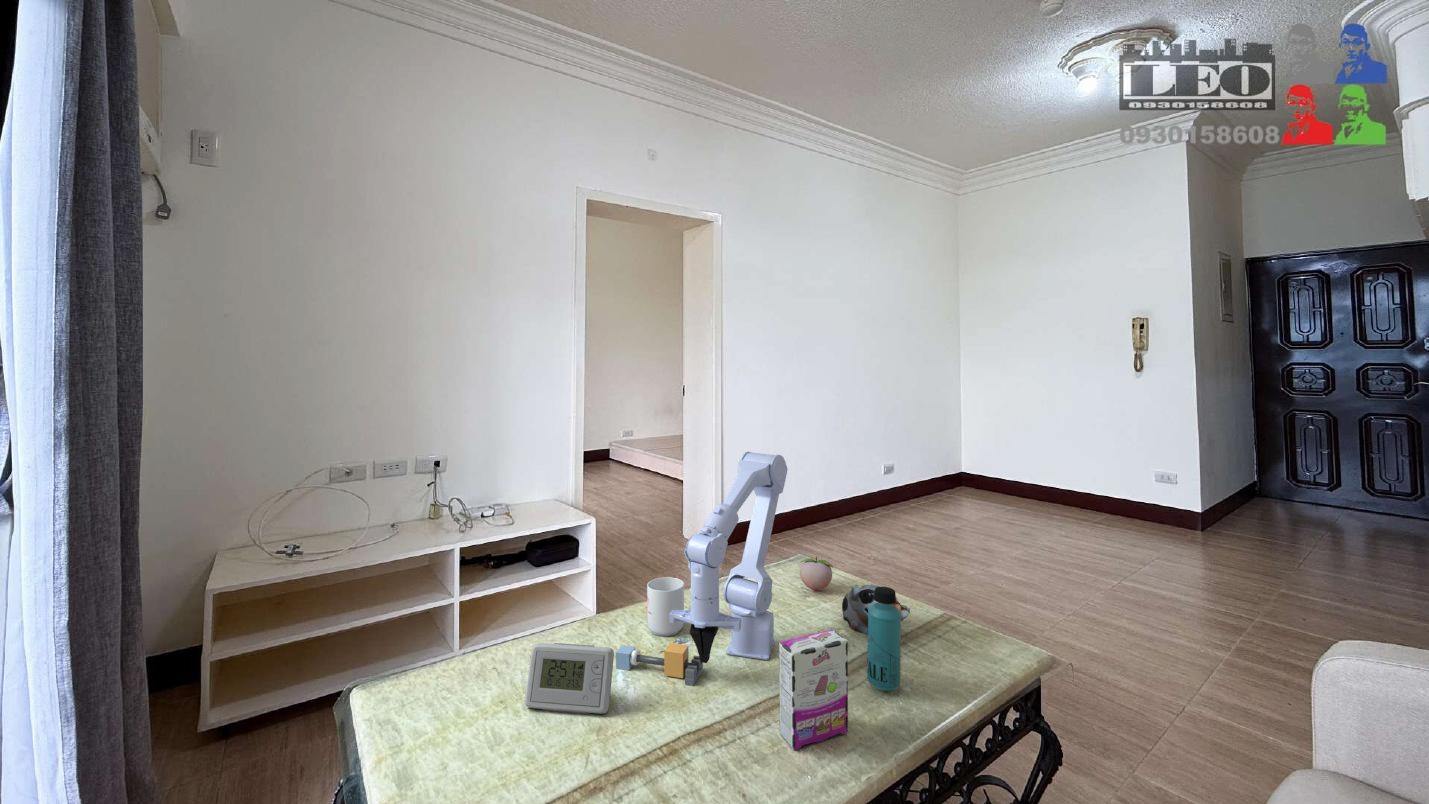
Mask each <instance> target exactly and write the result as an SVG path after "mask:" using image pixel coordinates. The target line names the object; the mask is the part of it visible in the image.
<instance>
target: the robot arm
mask: <svg viewBox="0 0 1429 804" xmlns="http://www.w3.org/2000/svg"><path fill="white" fill-rule="evenodd" d="M736 464H737V465H736V467H737V475H736V478H735V479H734V482H733V483H732V485H731V488H730V489H729V492H728V493H727V495H726V497H725V500H724V501H723V503H721V504H716V505H715V507H714V508H713V509H712V511H711V513H710V515H709V516H708V518H707V520H706V521H705V522H704V524H703V526H702V527H701V529H700V530H699V532H698V533H695V534H693V535H692V536H690V537H689V538H688V540H687V542H686V544H685V549H684V551H683V553H684V557H685V559H686V561H687V564H688V565H687V566H688V569H689V571H690V609H684V610H672V611H671V613H670V623H675V622H680V623H684V624H688V625H689V624H690V629H689V630H688V631H689V636H690V637H691V639H692V641H693V642H694V644H695V646H696V649H697V653H698V656H699V658H700V662H701V663H703V664H707V663H709V660H710V656H711V650H712V648H713V647H712V646H713V643H714V642H715V641H714V640H715V638H716V636H717V633H718V631H719V629H725V630H731V631H730V633H731V634H730V635H731V636H730V643H729V645H728V647H727V649H726V650H725V654H726V655H732V656H738V657H744V658H750V659H758V660H765V661H768V660H769V659H770V656H771V654H772V651H773V648H774V645H775V640H774V639H775V637H774V635H775V634H774V633H775V632H774V631H775V629H774V628H775V625H774V624H775V617H774V612H772V611H769V610H768V609H770V606H771V603H772V600H773V599H772V598H773V592H772V588H773V579H772V577H771V576H770V575H769V573H768V572H767V571H766V569H765V566H766V565H765V563H766V559H767V554H768V550H769V544H770V540H771V535H772V532H773V527H774V522H775V521H774V520H775V516H776V511H777V507H778V502H779V497H780V494H783V492H784V489H785V485H786V479H787V474H788V465H787V462H786V460H785V458H784V457H783V455H781V454H769V453H768V454H767V453H757V452H751V451H745V452H743V454H742V455H741V457H740V458H739V461H737V463H736ZM753 491H754V494H755V499H754V504H753V509H752V513H751V517H750V518H751V519H750V523H749V526H748V527H749V528H748V532H747V536H746V540H745V544H744V549H743V554H742V557H741V558H742V559H741V562H740V563H739V564H738V565H736V566H734V567H732V568H731V569H730V570H729V571H730V572H729V575H728V578H727V580H726V581H725V583H724V586H723V590H722V591H723V593H722V594H723V599H724V602H725V603H727V604H728V609H729V610H730V611H731V613H730V614H731V615H728V614H726V613H723V612H720V565H721V564H722V563H723V562H724V560H725V557H726V552H727V547H728V544H729V543H728V540H729V538H730V536H731V535H732V533H733V531H734V529H735V528H736V526H737V524H738V523H739V521H740V519H739V518H740V517H739V514H738V512H739V510H740V509H741V508H742V506H743V505H744V504H745V502H746V501H747V499H748V498H749V496H750V495H751V494H752V492H753ZM745 577H746V578H745ZM751 579H752V580H751ZM754 580H755V581H754Z"/></svg>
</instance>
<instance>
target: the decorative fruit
mask: <svg viewBox="0 0 1429 804" xmlns="http://www.w3.org/2000/svg"><path fill="white" fill-rule="evenodd" d="M800 563H802V564H801V566H800V568H799V569H800V570H799V577H800V579H801V581H802V583H803V584H804V585H805V587H806V588H809V589H811V590H813V591H814V592H817V591H820V590H823V589H825V588H827V587H828V586H829V585H830V584H831V582H832V579H833V570H832V568H834V566H833V564H831V563H830V562H829V561H827V560H823V559H818V556H815V559H814V558H809V557H808V558H805V559H802V560H801V561H800Z"/></svg>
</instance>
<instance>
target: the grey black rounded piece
mask: <svg viewBox="0 0 1429 804" xmlns="http://www.w3.org/2000/svg"><path fill="white" fill-rule="evenodd" d="M877 587H881V586H880V585H876V584H865V585H863V586H861V587H859V585H858V584H855V585H853V586H852V587H851V590H850V591H849V592H847V593H845V595H844V597H843V599H842V603H841V612H842V613H841V614H842V619H843V620H844V621H845V622H847V624H848V625H849V627H850V629H851V630H852V631H856V632H859V633H862V632H863V633H862V634H864V633H865V635H868V633H867V629H868V623H867V622H868V609H869V608H870V607H871V606H872V605H873V604H875V603H878V602H876V601H875V600H874V591H875V588H877ZM892 605H894V606H895V607H896V608H897V609H898V610H899V611H900V612H901V615H902V616H901V622H903V621H904V620H905V619H907V618H908V617H909V615H910V614H911V608H910V607H908V606H907V605H904V604H903V605H902V604H901V602H900V601H899V599H898V597H897V596H896V602H895V603H894V604H892Z"/></svg>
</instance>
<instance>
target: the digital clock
mask: <svg viewBox="0 0 1429 804" xmlns="http://www.w3.org/2000/svg"><path fill="white" fill-rule="evenodd" d="M614 656H615V654H614V649H613V648H611V647H605V646H595V645H593V644H590V645H589V644H576V643H575V644H574V643H562V642H554V643H546V642H545V643H544V642H538V643H534V644H533V645H532V648H531V653H530V661H529V669H528V675H527V681H526V682H527V683H526V689H525V690H526V691H525V697H524V698H525V699H524V705H525V706H526V707H527V708H530V709H540V710H542V711H547V712H561V713H562V712H563V713H571V714H572V713H573V714H574V713H575V714H584V715H585V714H587V715H590V714H600V715H602V714H606V713H608V711H609V708H610V703H611V702H610V701H611V693H612V692H611V689H612V678H613V669H614V659H615V657H614Z"/></svg>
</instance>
